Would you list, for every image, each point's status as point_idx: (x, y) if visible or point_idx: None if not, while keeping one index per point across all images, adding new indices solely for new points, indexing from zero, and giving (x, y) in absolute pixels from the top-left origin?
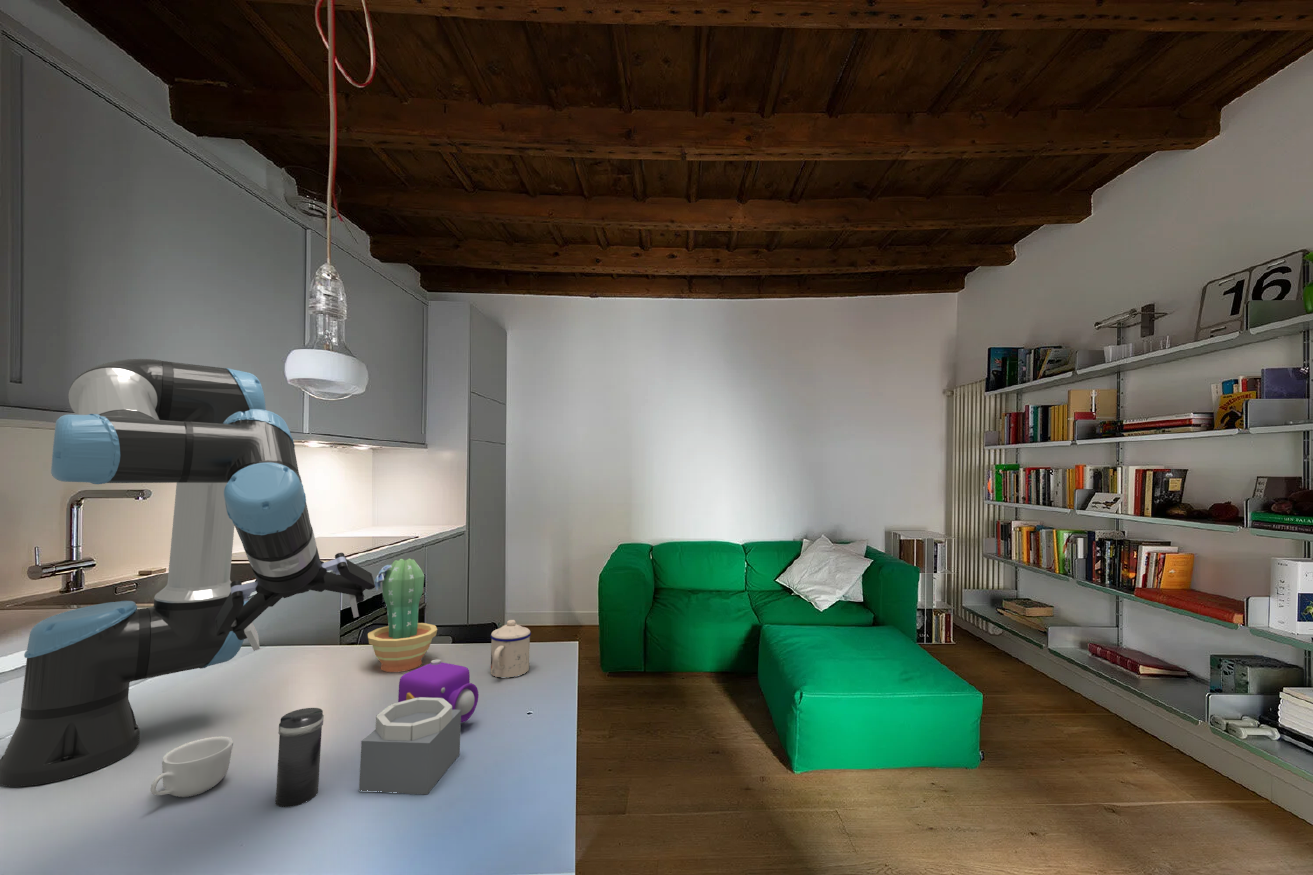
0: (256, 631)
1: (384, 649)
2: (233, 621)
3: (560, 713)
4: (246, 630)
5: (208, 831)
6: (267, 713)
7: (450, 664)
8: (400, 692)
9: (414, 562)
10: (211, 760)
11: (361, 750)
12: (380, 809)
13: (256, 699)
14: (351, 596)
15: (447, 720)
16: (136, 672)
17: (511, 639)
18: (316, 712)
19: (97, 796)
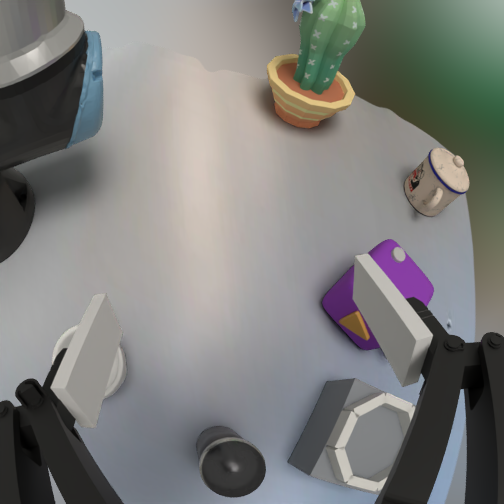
0: (101, 307)
1: (290, 103)
2: (52, 493)
3: (470, 338)
4: (84, 425)
5: (141, 476)
6: (151, 178)
7: (415, 269)
8: (344, 297)
9: (359, 2)
10: (108, 396)
11: (305, 472)
12: (311, 499)
13: (138, 133)
14: (409, 378)
15: None
16: None
17: (455, 190)
18: (256, 467)
19: (17, 326)
